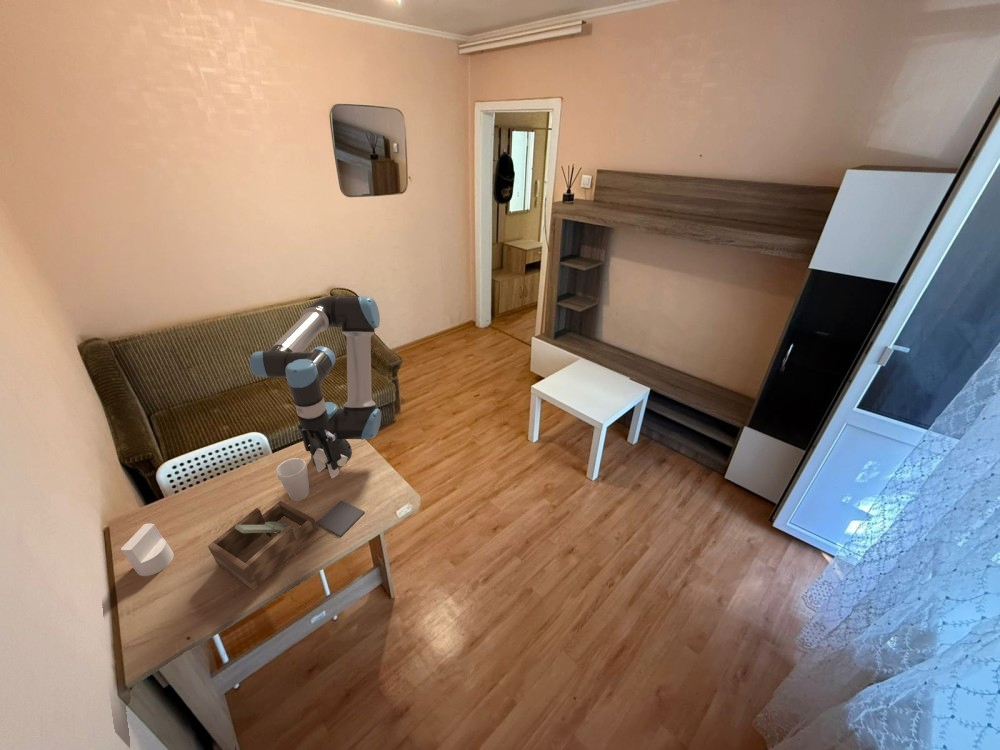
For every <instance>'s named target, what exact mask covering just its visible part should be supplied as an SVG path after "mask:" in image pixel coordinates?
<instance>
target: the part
mask: <svg viewBox="0 0 1000 750" xmlns="http://www.w3.org/2000/svg"><path fill="white" fill-rule="evenodd" d="M313 458H315V459H317V460H319V461H321V462H324V463H327V461H328V459H327V457H326V455H325V453H324V451H323V449H319V448H317V449H316V452H315V454H314V456H313ZM347 459H348V457H346V456H344V455H341V459H340V460H339V461H337V463H338V465H339V466H338V467H345V465H346V463H347V462H348V461H347ZM346 461H347V462H346Z"/></svg>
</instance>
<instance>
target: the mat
mask: <svg viewBox="0 0 1000 750" xmlns="http://www.w3.org/2000/svg"><path fill="white" fill-rule="evenodd" d="M365 513H366V512H365V510H363V509H361V508H358V507H357V506H354V505H352V504H351V503H348V502H346V501H344V500H342V499H340V500H339V501H338V502H337V503H336V504H335V505H333V506H332V507H331V508H330V509H329V510H328V511H327V512H326V513H324V515H322V517H320V518H319V519H318V520H317V521H315V522H316V525H317V526H320V527H322V528H323V529H325V530H327V531H329V532H331V533H333V534H335V535H336V536H339V537H342V536H344V534H345V533H346V532H348V530H349V529H350V528H351V527H352V526H353V525H354V524H355V523H356V522H357V521H358V520H359V519H361V517H362V516H363V515H364V514H365Z"/></svg>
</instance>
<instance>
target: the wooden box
mask: <svg viewBox="0 0 1000 750" xmlns="http://www.w3.org/2000/svg"><path fill="white" fill-rule="evenodd" d="M283 518H286V519H288V520H290V521H291V522H294V523H295V524H297V525H298V526H299V527H298V528H297V529H295V530H296V531H295V532H293V530H292V528H293V527H291V526H290V525H288V526H287V527H286V528H285V529H284V530H283V531H282V532H281V533H279V534H278V533H277V534H276V536H274V537H273V538H272V539H271V540H270V541H269V542H268V543H267V544H266V545H264V546H263V547H262V548H260V550H258V551H257V552H256V553H255V554H254V555H253V556H252V557H250V558H249V559H248V560H247V561H246V562H245V561H243V560H241V559H239V558H238V557H237V556H239V554H241V553H242V552H243V551H245V549H247V548H248V547H249V546H250V545H252V544H253V543H254V542H255V541H257V540H258V539H259V538H260V537H261V536H263V535H264V534H266V536H267V537H268V538H271V537H272V534H271V533H242V532H240V531H238V530H237V529H235V526H236V525H264V524H265V522H280V520H282V519H283ZM316 522H317V521H316V519H315V518H314V517H312V516H310V515H308V514H306V513H305V512H303V511H302V510H299V509H297V508H296V507H293V506H291V505H290V504H287V503H286V502H284V501H282V500H279V501H278V502H277V503H276V504H274V505H273V506H272V507H270V508H269V509H268V510H266V511H265V512H264V513H263V514H262V512H261V509H259V508H257V507H256V508H255V509H253V511H251V512H250V513H248V514H247V515H246V516H244V517H243V518H242V519H241V520H239V521H238V522H237V523H236V524H234V525H233V526H231V527H230V528H229V529H227V530H226V531H225V532H224V533H222V534H221V535H220V536H219V537H217V538H216V539H215V540H213V541H212V542H211V543H209V544H208V545H207V548H208V549H209V551H210V553H211V555H212V557H213V559H214V561H215V563H216V564H217V566H218V567H219V568H220V569H222V570H224V571H225V572H226V573H228V574H229V575H230V576H232V577H233V578H235V579H237V580H238V581H240V582H241V583H243V584H244V585H246V586H247V587H248V588H250V589H251V590H252V591H254V590H255V589H257V588H258V587H259V586H260V585H261V584H262V583H263V582H264V581H265V580H266V579H267V578H269V577H270V576H271V574H273V573H275V571H276V570H277V569H278V568H279V567H280V566H281V565H282V564H284V563H285V562H286V560H288V559H289V558H290V557H291V556H292V555H293V554H294V553H295V552H297V551H298V549H299V548H300V547H302V546H303V545H304V544H305V543H306V542H307V541H308V540H309V539H311V537H312V536H314V535H315V534H316V533H317V531H319V528H318V524H316Z"/></svg>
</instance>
